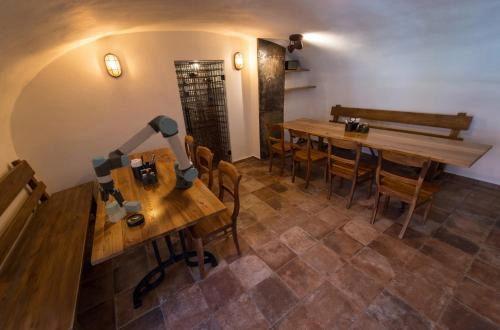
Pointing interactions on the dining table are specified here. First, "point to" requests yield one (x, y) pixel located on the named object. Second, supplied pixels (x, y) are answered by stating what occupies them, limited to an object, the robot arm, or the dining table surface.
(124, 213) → the cream brick
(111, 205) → the green brick
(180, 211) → the dining table surface
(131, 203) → the slate brick
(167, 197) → the dining table surface
